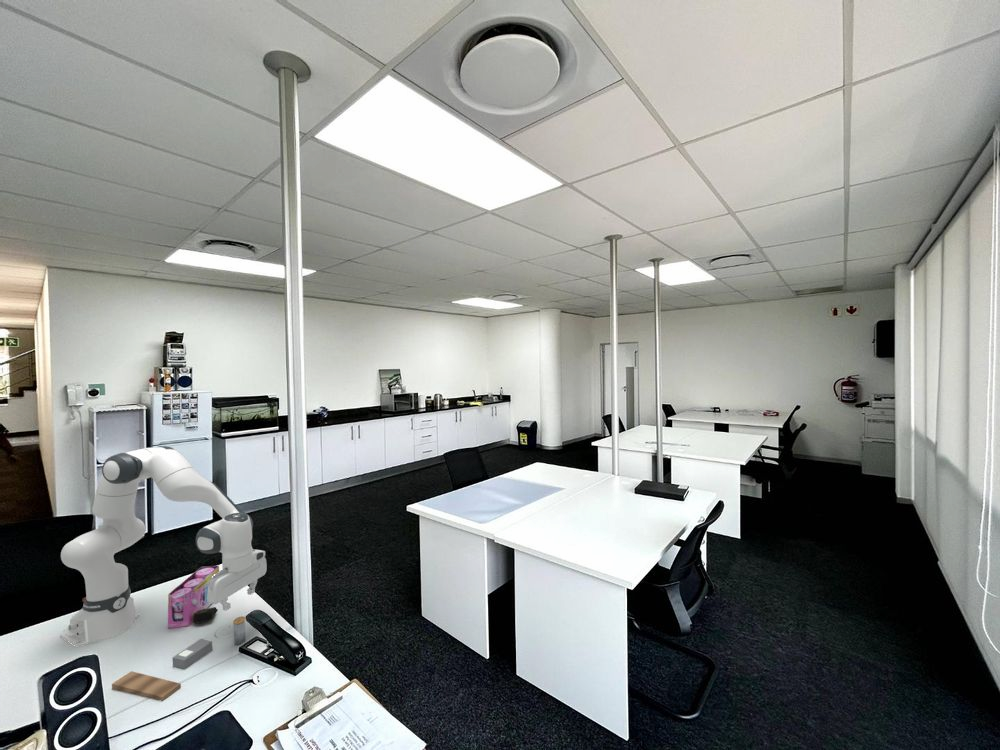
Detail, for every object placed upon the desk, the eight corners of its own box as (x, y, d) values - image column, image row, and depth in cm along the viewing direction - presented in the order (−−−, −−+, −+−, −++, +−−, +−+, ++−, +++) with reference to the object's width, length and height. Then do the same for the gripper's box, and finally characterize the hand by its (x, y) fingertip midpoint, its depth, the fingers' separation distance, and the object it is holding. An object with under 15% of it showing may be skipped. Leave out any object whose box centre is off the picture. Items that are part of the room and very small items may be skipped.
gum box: (187, 628, 146) (186, 594, 146) (165, 631, 145) (164, 596, 144) (220, 594, 168) (219, 565, 168) (201, 596, 167) (200, 566, 167)
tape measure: (211, 621, 148) (211, 610, 148) (189, 626, 145) (189, 615, 146) (217, 615, 154) (217, 605, 155) (196, 620, 151) (196, 610, 152)
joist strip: (112, 691, 117) (111, 683, 117) (131, 678, 122) (131, 671, 122) (162, 705, 112) (162, 697, 112) (180, 691, 117) (180, 683, 117)
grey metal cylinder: (231, 646, 136) (230, 621, 136) (240, 639, 139) (239, 615, 139) (239, 648, 135) (238, 623, 135) (248, 641, 138) (247, 617, 138)
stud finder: (172, 669, 126) (172, 656, 126) (201, 650, 135) (201, 638, 135) (184, 673, 125) (184, 659, 125) (212, 653, 133) (212, 640, 133)
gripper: (216, 578, 126) (218, 621, 126) (269, 549, 146) (270, 586, 146) (201, 576, 127) (202, 618, 128) (255, 547, 147) (256, 584, 147)
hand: (239, 601), depth 137 cm, fingers open, 8 cm apart
